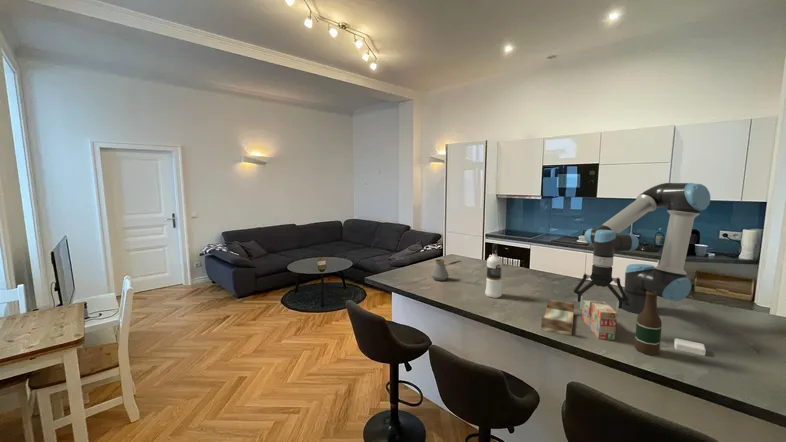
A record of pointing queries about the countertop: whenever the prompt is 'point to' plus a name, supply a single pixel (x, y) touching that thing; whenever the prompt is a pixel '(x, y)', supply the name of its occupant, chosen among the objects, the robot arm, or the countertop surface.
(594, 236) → the robot arm
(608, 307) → the stack of blocks
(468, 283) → the countertop surface
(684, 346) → the soap
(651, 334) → the beer bottle
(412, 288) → the countertop surface
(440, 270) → the coffee pot
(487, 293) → the vodka
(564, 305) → the cradle
